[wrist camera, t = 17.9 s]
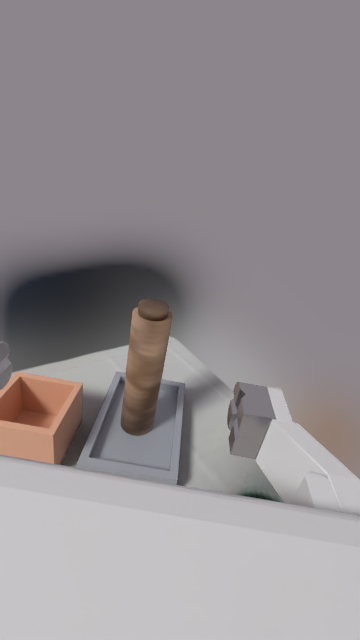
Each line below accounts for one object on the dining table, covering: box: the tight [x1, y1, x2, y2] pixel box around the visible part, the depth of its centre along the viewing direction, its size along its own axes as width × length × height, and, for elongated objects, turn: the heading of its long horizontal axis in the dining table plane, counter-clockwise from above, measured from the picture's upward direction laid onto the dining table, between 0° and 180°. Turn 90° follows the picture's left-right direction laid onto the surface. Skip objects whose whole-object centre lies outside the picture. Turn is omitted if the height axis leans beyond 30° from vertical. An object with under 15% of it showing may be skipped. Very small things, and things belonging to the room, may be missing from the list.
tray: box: [77, 371, 185, 485], centre depth 43 cm, size 12×18×2 cm, turn 176°
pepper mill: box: [121, 299, 172, 436], centre depth 39 cm, size 5×5×19 cm
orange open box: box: [0, 372, 83, 465], centre depth 38 cm, size 9×9×7 cm
